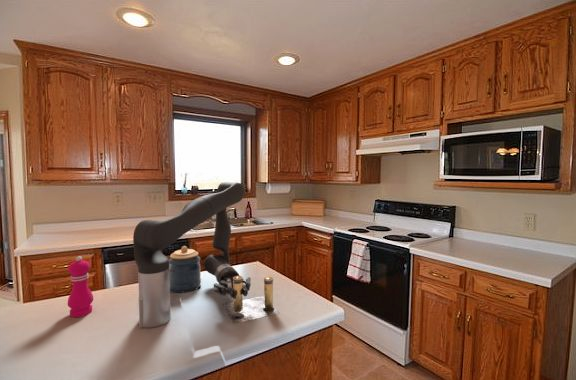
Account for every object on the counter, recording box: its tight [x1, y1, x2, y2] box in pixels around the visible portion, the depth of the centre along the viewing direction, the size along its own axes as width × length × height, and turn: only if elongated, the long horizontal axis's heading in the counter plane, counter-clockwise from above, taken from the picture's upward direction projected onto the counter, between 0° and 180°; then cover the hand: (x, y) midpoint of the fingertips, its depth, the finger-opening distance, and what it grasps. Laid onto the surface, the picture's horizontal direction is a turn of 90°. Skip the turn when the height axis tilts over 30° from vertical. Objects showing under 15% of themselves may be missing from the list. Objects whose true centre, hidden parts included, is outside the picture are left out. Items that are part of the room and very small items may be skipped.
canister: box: [169, 245, 202, 294], centre depth 120 cm, size 13×13×18 cm
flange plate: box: [222, 295, 281, 325], centre depth 99 cm, size 16×15×1 cm
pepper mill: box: [67, 255, 94, 318], centre depth 97 cm, size 7×7×20 cm
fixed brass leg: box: [263, 276, 274, 311], centre depth 98 cm, size 3×3×11 cm
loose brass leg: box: [232, 275, 244, 312], centre depth 93 cm, size 3×3×11 cm
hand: (240, 294), depth 90 cm, fingers closed on loose brass leg, 3 cm apart
